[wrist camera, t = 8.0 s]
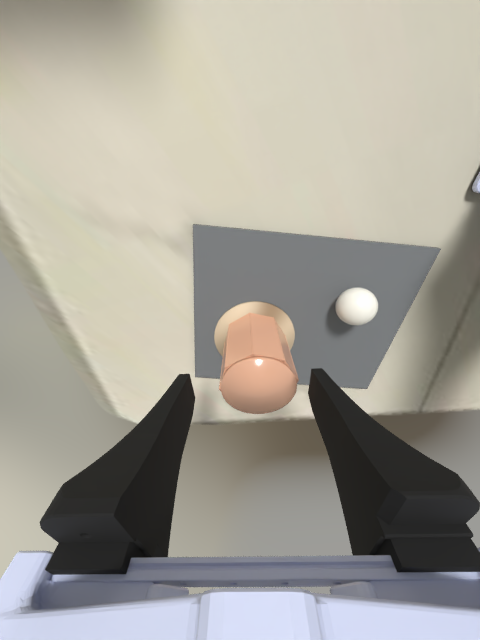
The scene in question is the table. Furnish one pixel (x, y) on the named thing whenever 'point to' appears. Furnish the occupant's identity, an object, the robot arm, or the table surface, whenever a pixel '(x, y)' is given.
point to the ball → (356, 306)
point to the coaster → (255, 308)
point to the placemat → (306, 294)
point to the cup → (257, 366)
